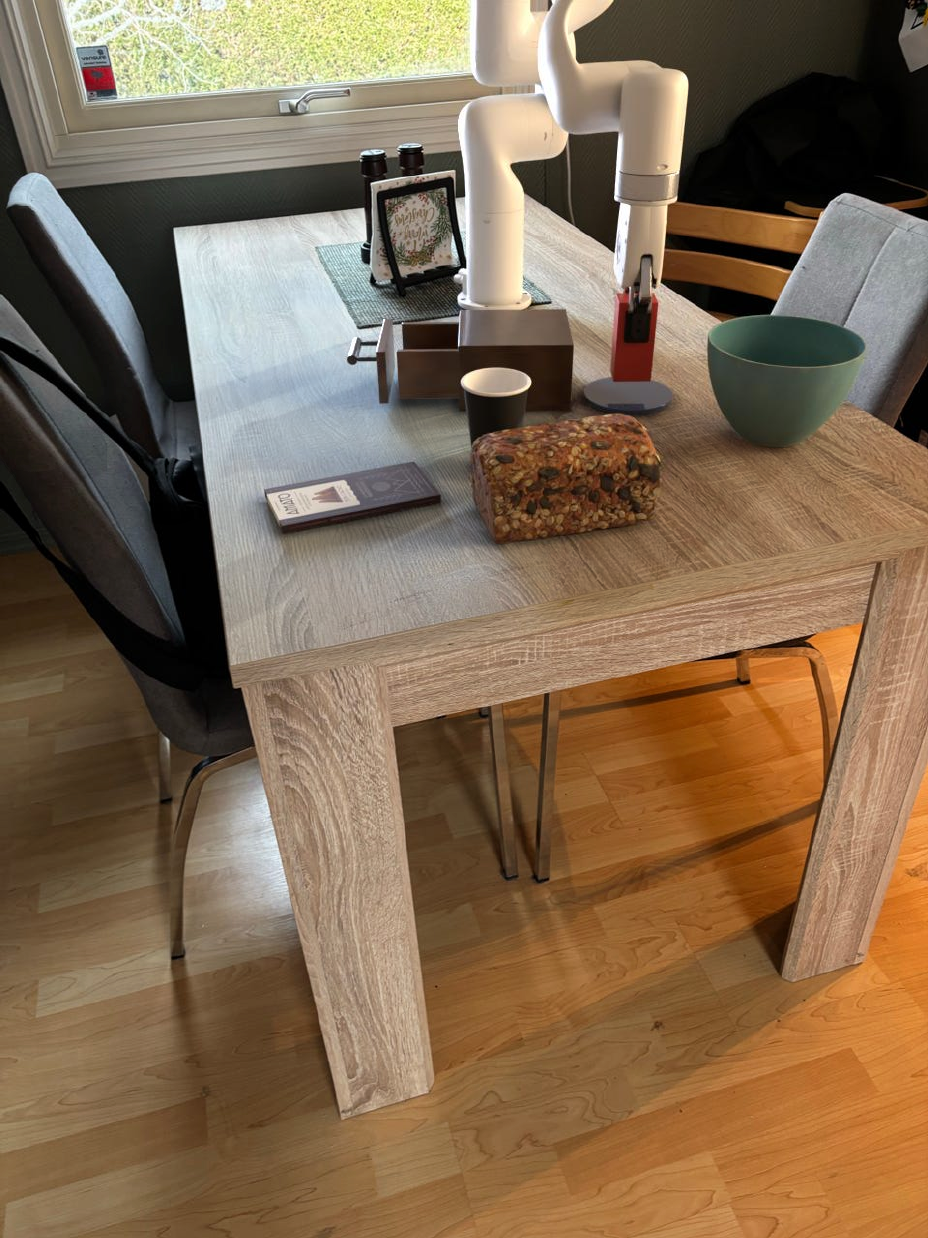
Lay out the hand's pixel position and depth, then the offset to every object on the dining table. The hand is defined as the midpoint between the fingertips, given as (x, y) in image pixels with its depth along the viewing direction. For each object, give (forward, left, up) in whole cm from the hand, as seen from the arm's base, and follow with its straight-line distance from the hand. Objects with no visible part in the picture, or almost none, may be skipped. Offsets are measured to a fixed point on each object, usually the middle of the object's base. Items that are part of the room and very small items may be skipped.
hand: (633, 334), depth 128 cm
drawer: (-23, -18, -8) cm, 30 cm away
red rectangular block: (0, 0, -6) cm, 6 cm away
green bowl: (+20, +3, -9) cm, 22 cm away
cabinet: (-13, -9, -9) cm, 18 cm away
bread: (+15, -31, -9) cm, 35 cm away
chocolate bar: (-4, -45, -9) cm, 46 cm away
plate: (0, 0, -9) cm, 9 cm away
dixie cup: (+2, -28, -9) cm, 29 cm away
